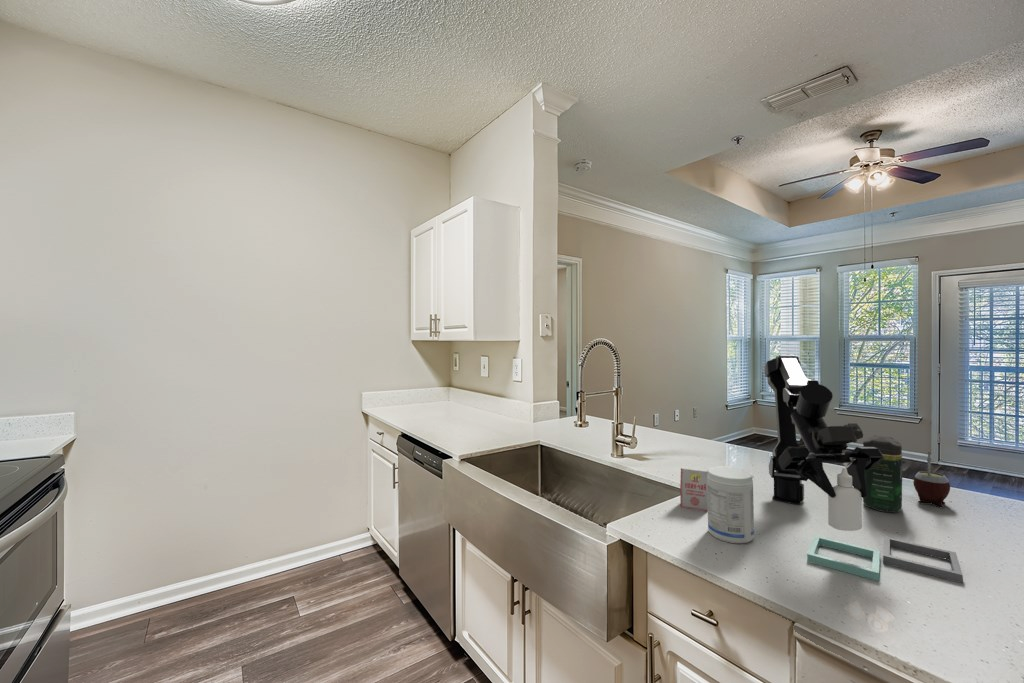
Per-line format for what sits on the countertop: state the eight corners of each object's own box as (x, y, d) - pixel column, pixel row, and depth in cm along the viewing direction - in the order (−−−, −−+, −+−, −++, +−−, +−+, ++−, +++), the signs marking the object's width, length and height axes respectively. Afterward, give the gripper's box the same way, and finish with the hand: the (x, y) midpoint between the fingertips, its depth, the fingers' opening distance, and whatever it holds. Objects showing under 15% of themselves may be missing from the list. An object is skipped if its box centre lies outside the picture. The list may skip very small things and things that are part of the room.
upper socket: (883, 562, 85) (883, 555, 85) (883, 543, 94) (883, 536, 94) (962, 583, 78) (962, 575, 78) (955, 559, 86) (955, 552, 86)
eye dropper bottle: (826, 520, 90) (825, 464, 90) (860, 526, 87) (859, 467, 87) (829, 528, 86) (829, 469, 86) (865, 534, 83) (864, 473, 83)
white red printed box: (681, 502, 118) (681, 466, 118) (708, 506, 115) (708, 469, 115) (680, 507, 115) (680, 470, 115) (708, 511, 112) (707, 473, 112)
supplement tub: (726, 523, 104) (725, 463, 104) (763, 539, 96) (763, 474, 96) (698, 531, 100) (697, 469, 100) (735, 549, 92) (734, 480, 92)
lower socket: (807, 561, 86) (807, 553, 86) (814, 541, 94) (814, 535, 94) (878, 581, 79) (878, 573, 79) (880, 558, 87) (879, 550, 87)
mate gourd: (934, 498, 119) (933, 445, 119) (961, 510, 111) (960, 452, 111) (905, 498, 119) (904, 444, 119) (929, 509, 112) (929, 452, 112)
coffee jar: (902, 516, 107) (901, 442, 107) (861, 508, 113) (860, 438, 113) (903, 505, 114) (902, 436, 114) (865, 498, 120) (864, 432, 120)
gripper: (785, 409, 91) (819, 477, 80) (876, 409, 90) (924, 478, 79) (765, 437, 99) (794, 503, 88) (849, 437, 98) (889, 504, 87)
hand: (849, 497), depth 85 cm, fingers closed on eye dropper bottle, 6 cm apart
